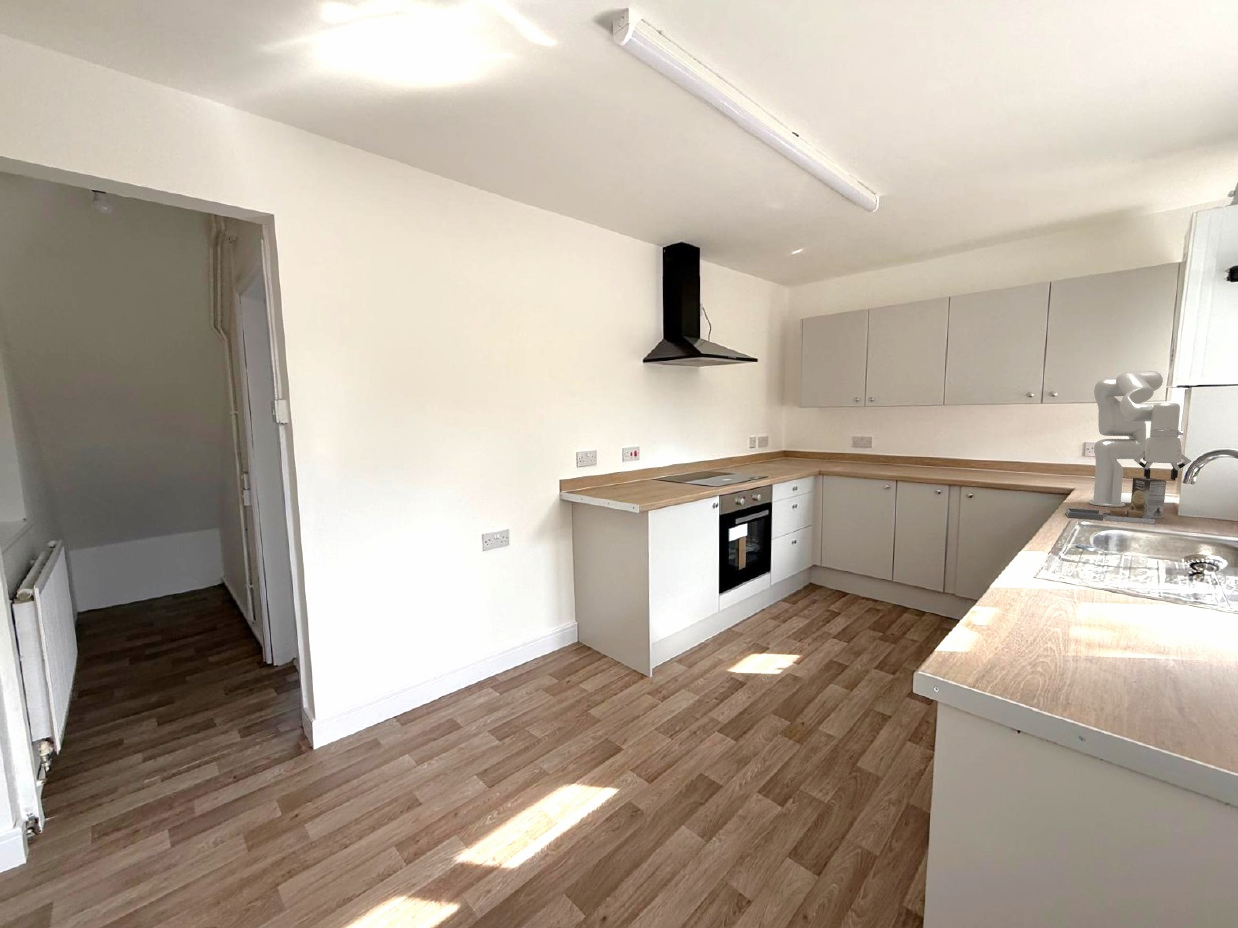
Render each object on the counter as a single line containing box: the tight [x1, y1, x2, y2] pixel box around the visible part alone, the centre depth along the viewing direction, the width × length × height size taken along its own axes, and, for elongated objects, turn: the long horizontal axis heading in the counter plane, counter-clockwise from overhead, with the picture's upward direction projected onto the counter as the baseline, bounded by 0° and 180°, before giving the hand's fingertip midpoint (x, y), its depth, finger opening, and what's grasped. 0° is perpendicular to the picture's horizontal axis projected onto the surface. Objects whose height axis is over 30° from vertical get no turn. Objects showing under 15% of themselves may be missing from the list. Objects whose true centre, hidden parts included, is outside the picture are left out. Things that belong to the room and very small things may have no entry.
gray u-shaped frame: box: [1064, 507, 1104, 521], centre depth 216 cm, size 12×11×2 cm
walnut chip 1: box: [1109, 508, 1126, 517], centre depth 210 cm, size 4×4×4 cm
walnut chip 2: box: [1126, 509, 1143, 518], centre depth 207 cm, size 4×4×4 cm
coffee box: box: [1129, 477, 1167, 519], centre depth 215 cm, size 9×6×16 cm
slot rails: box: [1101, 511, 1156, 525], centre depth 208 cm, size 10×14×2 cm
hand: (1160, 478), depth 201 cm, fingers open, 6 cm apart
